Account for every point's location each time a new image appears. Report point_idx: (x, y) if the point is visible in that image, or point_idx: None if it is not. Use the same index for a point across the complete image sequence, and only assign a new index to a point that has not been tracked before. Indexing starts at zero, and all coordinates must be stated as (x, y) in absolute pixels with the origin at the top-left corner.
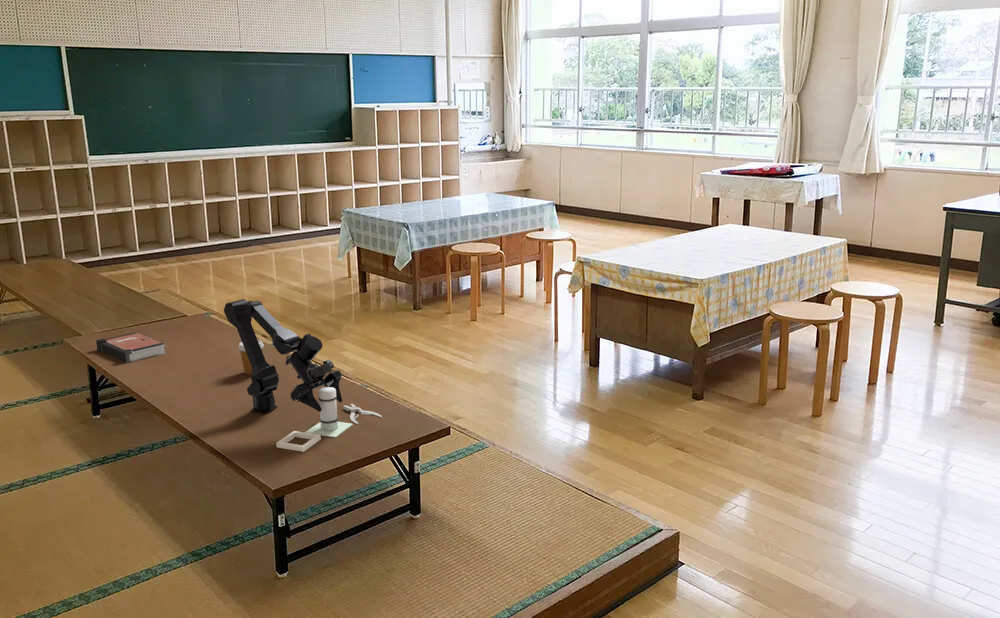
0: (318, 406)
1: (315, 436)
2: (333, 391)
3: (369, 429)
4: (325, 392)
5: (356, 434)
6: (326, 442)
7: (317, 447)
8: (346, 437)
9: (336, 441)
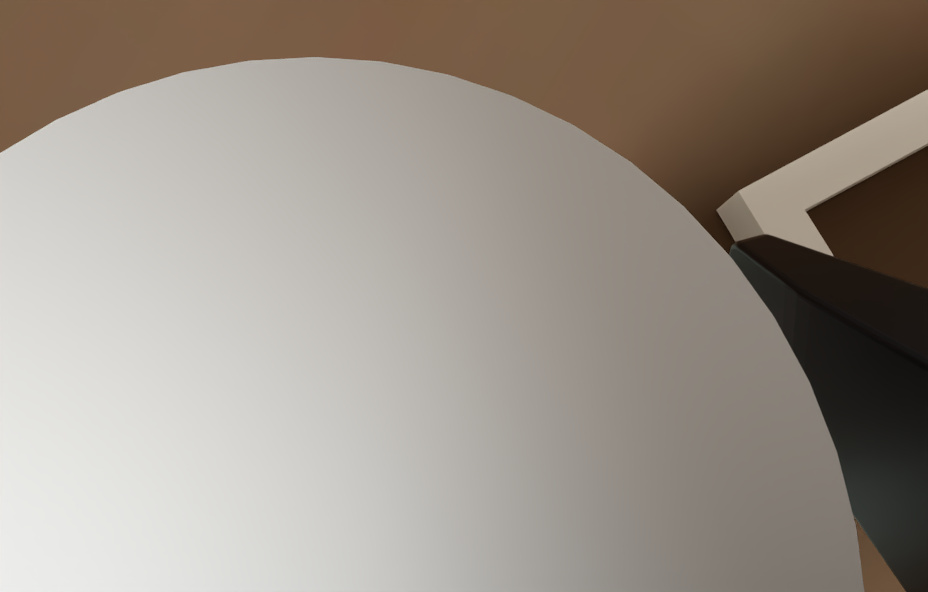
0: (862, 271)
1: (821, 193)
2: (141, 107)
3: (50, 68)
4: (591, 292)
5: (269, 44)
6: (700, 82)
7: (865, 25)
8: (419, 48)
9: (584, 26)
